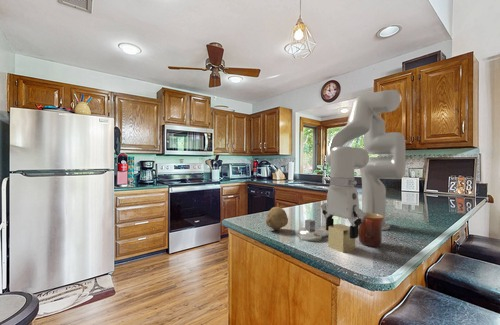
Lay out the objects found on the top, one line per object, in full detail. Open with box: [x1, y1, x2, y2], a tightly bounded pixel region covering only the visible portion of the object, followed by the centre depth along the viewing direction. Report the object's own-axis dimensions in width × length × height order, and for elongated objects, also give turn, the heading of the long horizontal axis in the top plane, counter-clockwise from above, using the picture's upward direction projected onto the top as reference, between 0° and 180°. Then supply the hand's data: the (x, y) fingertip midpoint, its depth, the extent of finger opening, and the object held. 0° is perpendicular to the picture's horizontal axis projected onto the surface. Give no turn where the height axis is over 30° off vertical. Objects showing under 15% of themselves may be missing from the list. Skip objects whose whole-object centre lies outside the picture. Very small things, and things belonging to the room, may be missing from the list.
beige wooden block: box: [328, 223, 356, 253], centre depth 75 cm, size 6×6×7 cm
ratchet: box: [297, 218, 338, 242], centre depth 89 cm, size 22×9×6 cm, turn 118°
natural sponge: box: [265, 206, 289, 231], centre depth 94 cm, size 9×9×10 cm
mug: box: [357, 213, 384, 248], centre depth 78 cm, size 12×9×10 cm
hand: (341, 233), depth 75 cm, fingers open, 9 cm apart
